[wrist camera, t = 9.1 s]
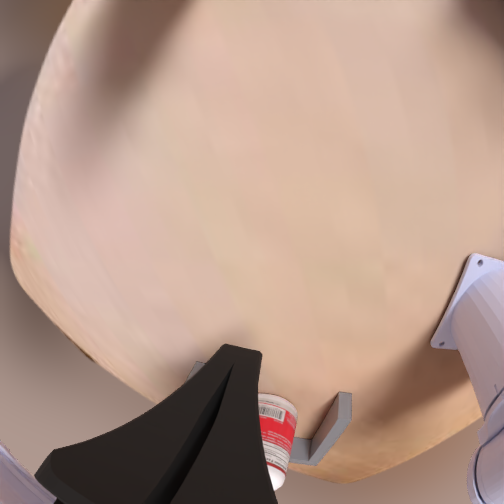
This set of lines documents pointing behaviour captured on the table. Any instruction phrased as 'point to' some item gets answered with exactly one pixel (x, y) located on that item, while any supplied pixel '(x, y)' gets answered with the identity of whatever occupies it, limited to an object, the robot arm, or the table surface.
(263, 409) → the pill bottle
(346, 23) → the table surface
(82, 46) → the table surface
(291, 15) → the table surface
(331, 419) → the box
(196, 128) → the table surface
